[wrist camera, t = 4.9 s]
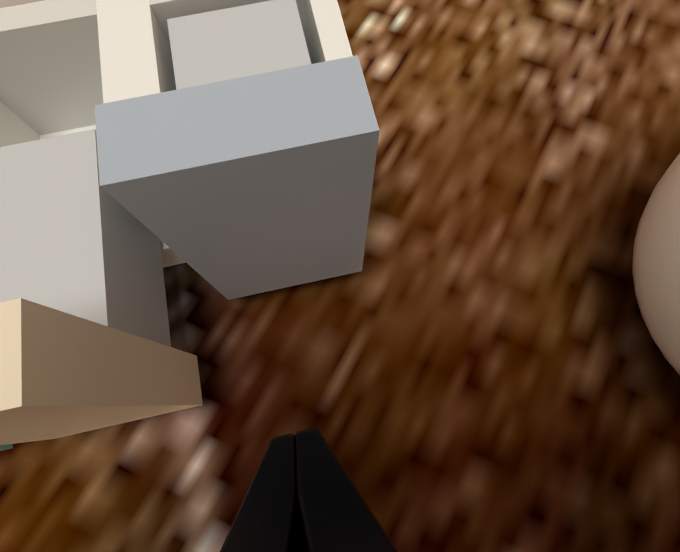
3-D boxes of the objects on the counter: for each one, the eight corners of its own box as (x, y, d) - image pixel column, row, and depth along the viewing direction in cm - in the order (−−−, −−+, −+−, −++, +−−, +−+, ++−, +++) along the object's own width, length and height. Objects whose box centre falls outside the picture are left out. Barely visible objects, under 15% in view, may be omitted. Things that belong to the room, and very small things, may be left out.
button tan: (203, 405, 13) (21, 406, 6) (54, 439, 13) (-332, 484, 5) (178, 203, 15) (18, 12, 8) (48, 229, 15) (-242, 58, 7)
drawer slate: (361, 271, 14) (379, 130, 7) (228, 300, 14) (100, 185, 7) (319, 99, 16) (298, -152, 9) (201, 122, 16) (79, -117, 8)
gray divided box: (364, 225, 16) (374, 132, 10) (-115, 325, 15) (-372, 281, 9) (330, 90, 17) (323, -49, 12) (-102, 173, 16) (-314, 63, 11)
